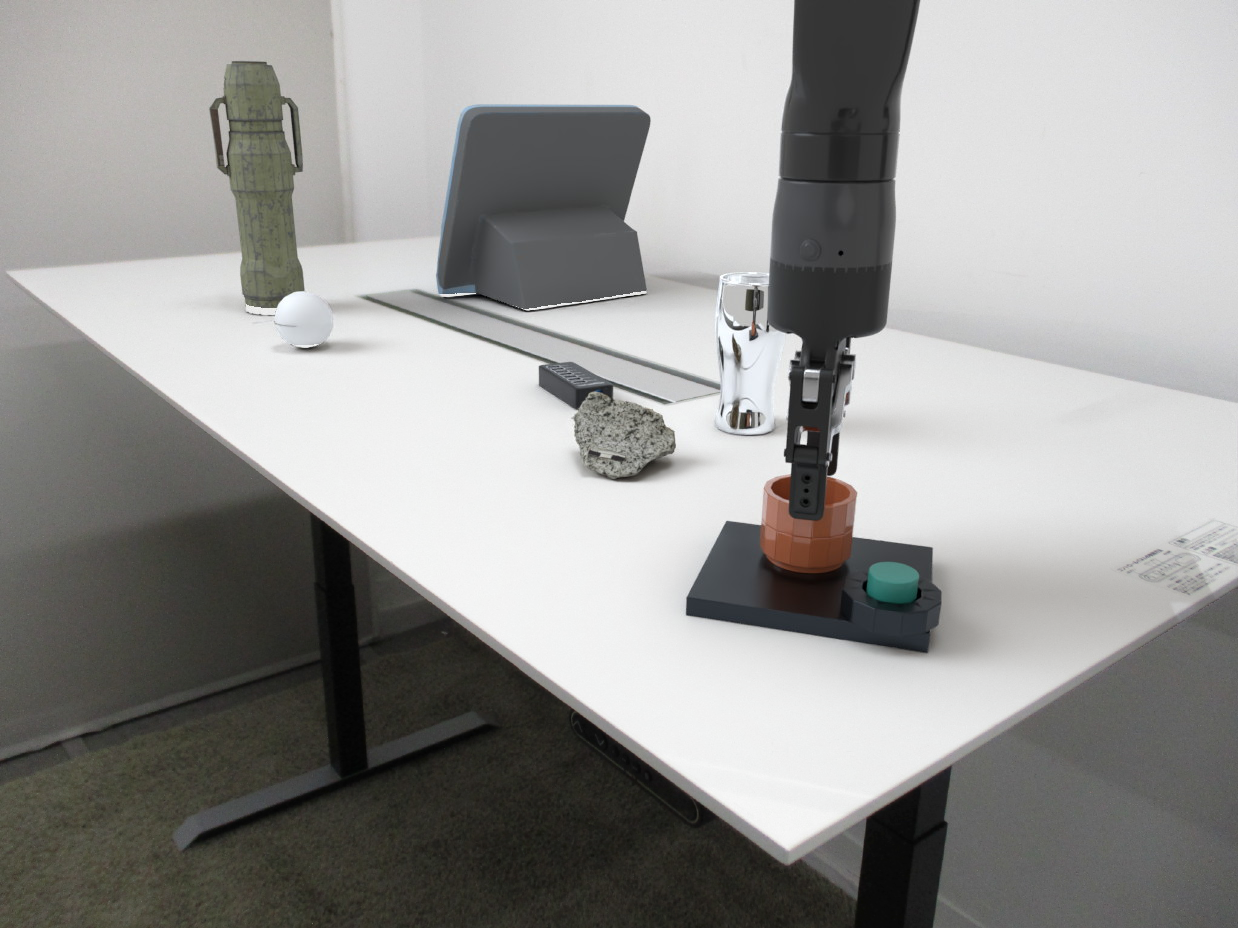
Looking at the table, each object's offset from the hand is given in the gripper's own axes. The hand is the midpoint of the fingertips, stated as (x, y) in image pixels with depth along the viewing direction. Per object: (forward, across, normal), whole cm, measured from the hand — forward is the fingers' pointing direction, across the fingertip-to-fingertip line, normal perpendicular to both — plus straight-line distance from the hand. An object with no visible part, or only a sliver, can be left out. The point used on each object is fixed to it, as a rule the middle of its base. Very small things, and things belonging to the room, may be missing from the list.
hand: (813, 494), depth 68 cm
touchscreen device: (+6, +92, +53) cm, 107 cm away
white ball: (+5, +45, +71) cm, 84 cm away
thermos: (+5, +65, +88) cm, 110 cm away
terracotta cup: (+5, 0, 0) cm, 5 cm away
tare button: (+4, -7, -6) cm, 9 cm away
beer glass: (+6, +32, +10) cm, 34 cm away
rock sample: (+6, +17, +18) cm, 26 cm away
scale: (+6, -2, -1) cm, 6 cm away
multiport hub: (+6, +37, +30) cm, 48 cm away
